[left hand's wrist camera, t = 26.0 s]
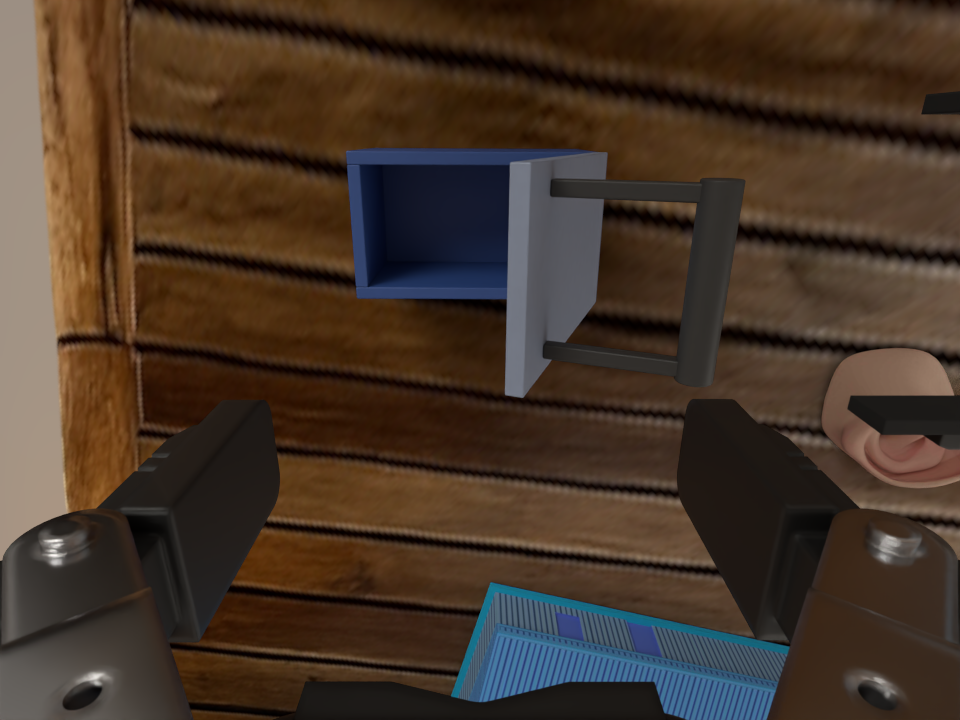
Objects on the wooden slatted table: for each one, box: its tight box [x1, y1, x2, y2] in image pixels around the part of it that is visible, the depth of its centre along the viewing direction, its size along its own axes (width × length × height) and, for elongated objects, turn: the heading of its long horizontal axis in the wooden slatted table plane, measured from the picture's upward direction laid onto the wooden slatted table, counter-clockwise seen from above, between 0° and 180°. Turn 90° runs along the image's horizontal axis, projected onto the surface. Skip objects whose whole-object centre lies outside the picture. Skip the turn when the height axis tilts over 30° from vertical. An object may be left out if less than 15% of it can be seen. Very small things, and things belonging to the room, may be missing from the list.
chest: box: [346, 148, 593, 299], centre depth 41 cm, size 15×9×9 cm, turn 90°
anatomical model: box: [821, 348, 960, 488], centre depth 49 cm, size 13×4×12 cm
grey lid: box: [505, 152, 745, 398], centre depth 28 cm, size 16×9×8 cm
